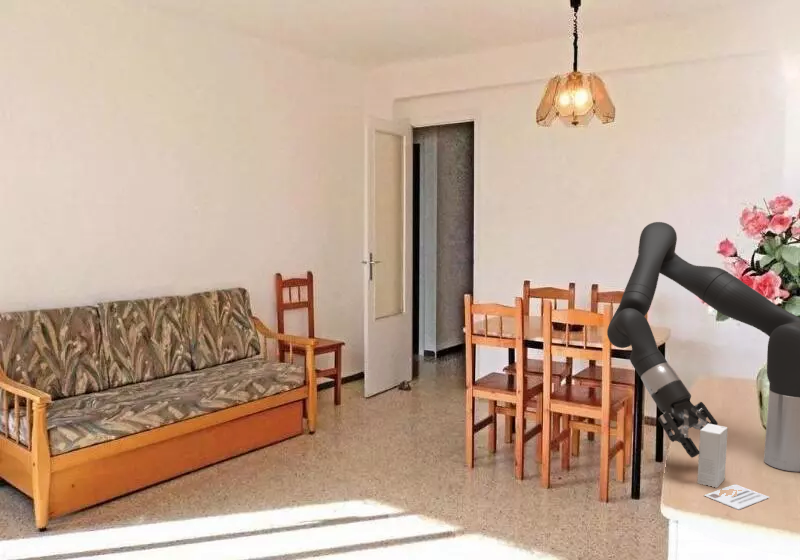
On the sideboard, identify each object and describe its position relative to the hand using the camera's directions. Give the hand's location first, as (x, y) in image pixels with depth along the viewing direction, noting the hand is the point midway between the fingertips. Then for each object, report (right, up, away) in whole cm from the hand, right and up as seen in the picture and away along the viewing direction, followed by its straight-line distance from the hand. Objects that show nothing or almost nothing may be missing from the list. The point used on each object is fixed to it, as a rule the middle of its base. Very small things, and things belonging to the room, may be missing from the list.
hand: (707, 451), depth 148 cm
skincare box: (0, -7, -1) cm, 7 cm away
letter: (+2, -7, -8) cm, 11 cm away
